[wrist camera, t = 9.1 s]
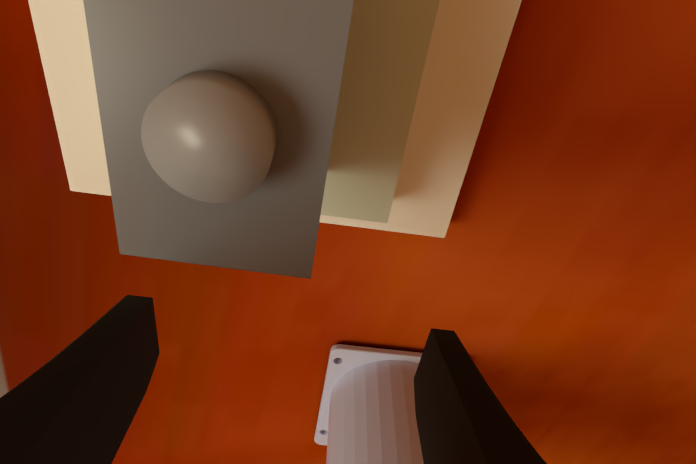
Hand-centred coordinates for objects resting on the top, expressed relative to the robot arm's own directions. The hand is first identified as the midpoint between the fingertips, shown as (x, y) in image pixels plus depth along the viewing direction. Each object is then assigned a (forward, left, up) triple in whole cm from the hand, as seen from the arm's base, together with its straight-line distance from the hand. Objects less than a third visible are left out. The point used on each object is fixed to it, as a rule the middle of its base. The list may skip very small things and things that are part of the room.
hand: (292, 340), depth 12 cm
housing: (+5, +2, -6) cm, 9 cm away
